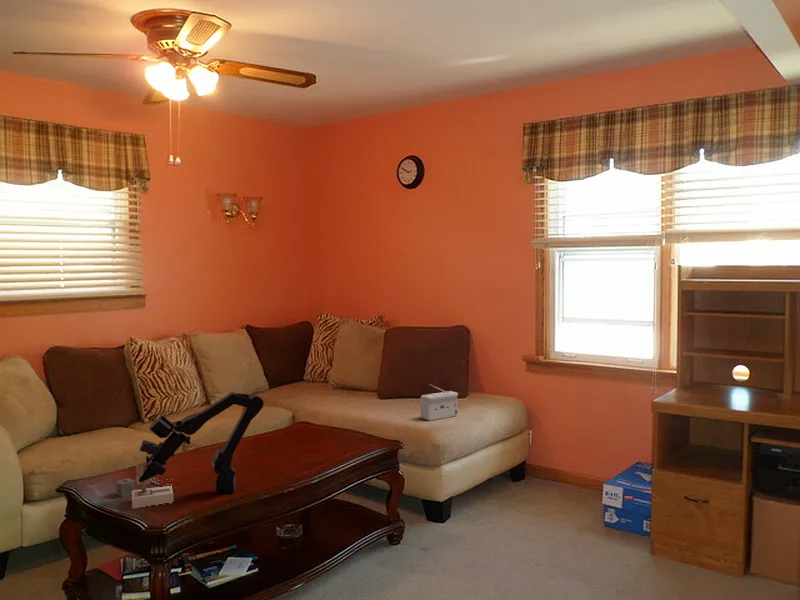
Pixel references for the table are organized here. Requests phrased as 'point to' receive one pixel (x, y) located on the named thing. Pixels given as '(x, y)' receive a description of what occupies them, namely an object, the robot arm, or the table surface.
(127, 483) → the dice cube
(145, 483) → the maple peg
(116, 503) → the table surface
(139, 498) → the keyhole block
